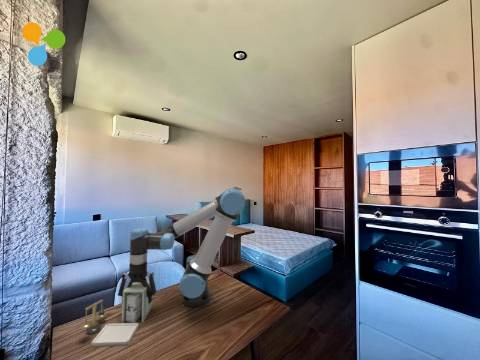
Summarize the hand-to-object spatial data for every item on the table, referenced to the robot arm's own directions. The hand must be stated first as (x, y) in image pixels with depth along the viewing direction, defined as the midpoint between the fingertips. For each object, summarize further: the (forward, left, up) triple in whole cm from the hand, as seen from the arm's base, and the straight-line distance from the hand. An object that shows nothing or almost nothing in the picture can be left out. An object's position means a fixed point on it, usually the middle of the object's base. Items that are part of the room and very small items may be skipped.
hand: (136, 309), depth 95 cm
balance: (+14, +9, -3) cm, 17 cm away
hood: (0, -1, -3) cm, 3 cm away
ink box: (0, 0, -3) cm, 3 cm away
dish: (+3, +12, -3) cm, 13 cm away
